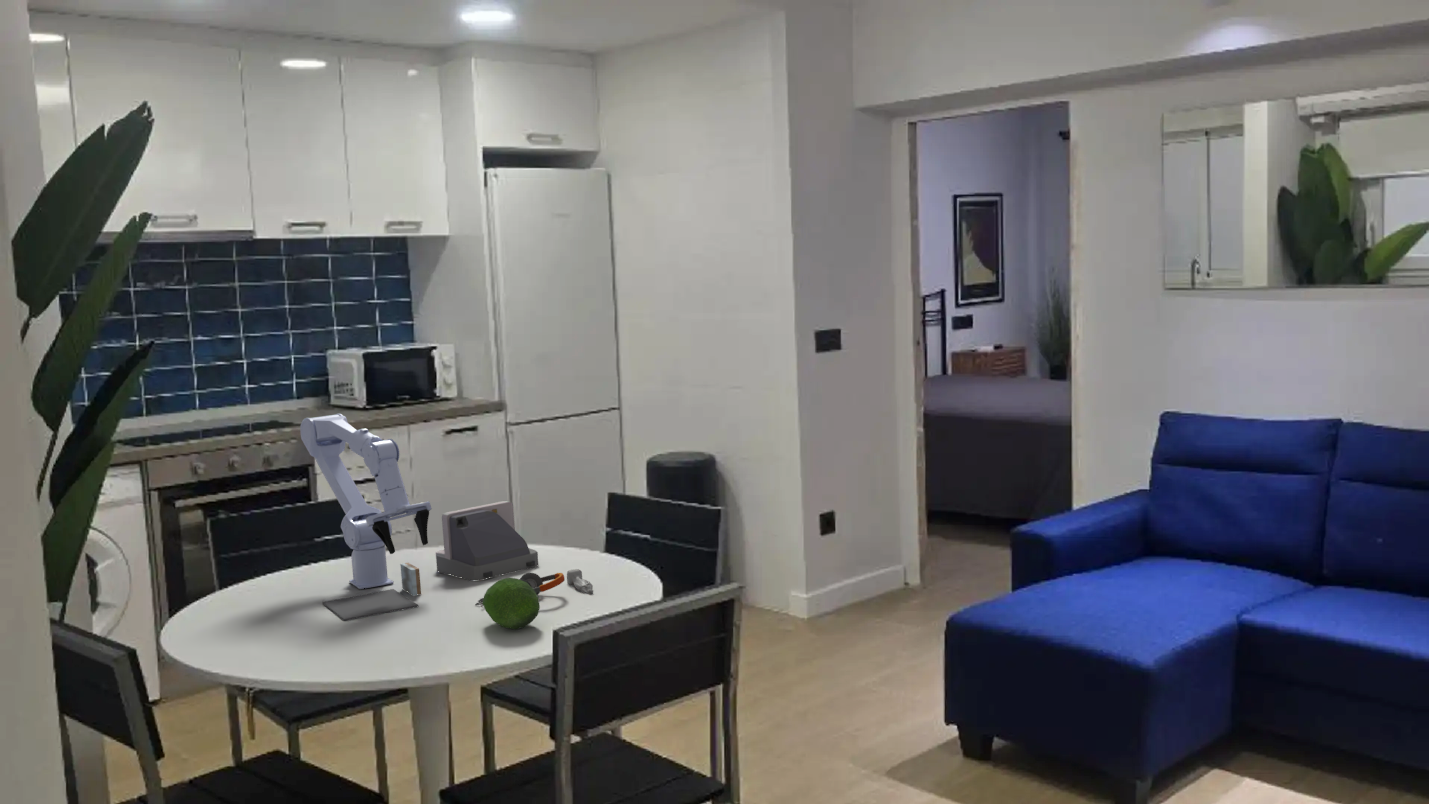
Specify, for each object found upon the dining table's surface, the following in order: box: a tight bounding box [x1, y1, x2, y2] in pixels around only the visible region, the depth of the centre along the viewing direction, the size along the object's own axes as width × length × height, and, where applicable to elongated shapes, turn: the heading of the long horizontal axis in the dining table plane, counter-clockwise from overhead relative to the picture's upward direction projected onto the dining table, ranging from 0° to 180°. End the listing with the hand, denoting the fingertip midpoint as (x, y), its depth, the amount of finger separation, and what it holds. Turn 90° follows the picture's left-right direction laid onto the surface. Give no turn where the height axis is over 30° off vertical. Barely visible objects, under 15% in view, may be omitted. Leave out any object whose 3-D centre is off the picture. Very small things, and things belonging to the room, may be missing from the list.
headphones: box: [474, 572, 565, 608], centre depth 269 cm, size 17×5×20 cm
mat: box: [322, 588, 419, 622], centre depth 272 cm, size 18×16×1 cm
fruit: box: [482, 577, 541, 630], centre depth 249 cm, size 15×10×10 cm, turn 33°
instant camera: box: [435, 500, 539, 581], centre depth 300 cm, size 21×21×15 cm
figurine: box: [566, 568, 594, 595], centre depth 276 cm, size 4×12×4 cm, turn 25°
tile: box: [399, 562, 422, 597], centre depth 281 cm, size 8×2×6 cm, turn 31°
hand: (409, 548), depth 278 cm, fingers open, 7 cm apart
